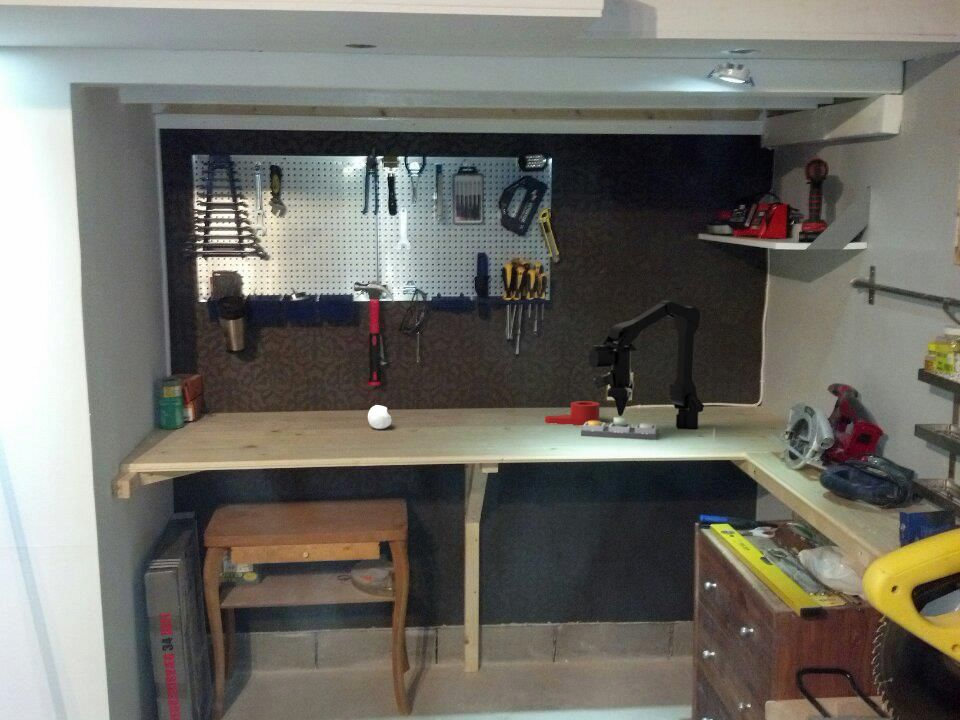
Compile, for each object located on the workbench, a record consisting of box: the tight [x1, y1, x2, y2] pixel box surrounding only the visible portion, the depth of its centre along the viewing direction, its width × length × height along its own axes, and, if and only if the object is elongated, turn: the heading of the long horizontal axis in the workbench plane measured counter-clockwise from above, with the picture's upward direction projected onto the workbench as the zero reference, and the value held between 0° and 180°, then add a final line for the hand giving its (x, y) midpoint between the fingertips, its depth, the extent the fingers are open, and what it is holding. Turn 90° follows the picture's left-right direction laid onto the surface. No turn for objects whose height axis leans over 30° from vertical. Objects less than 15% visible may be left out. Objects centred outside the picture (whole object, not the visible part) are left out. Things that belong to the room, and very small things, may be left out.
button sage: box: [613, 416, 628, 426], centre depth 291 cm, size 4×4×2 cm
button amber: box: [588, 420, 601, 426], centre depth 293 cm, size 4×4×2 cm
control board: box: [580, 421, 659, 441], centre depth 291 cm, size 23×9×3 cm, turn 75°
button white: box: [638, 422, 654, 428], centre depth 289 cm, size 4×4×2 cm
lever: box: [544, 400, 600, 426], centre depth 310 cm, size 18×9×7 cm, turn 90°
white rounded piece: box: [367, 404, 392, 430], centre depth 300 cm, size 8×8×8 cm
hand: (620, 415), depth 291 cm, fingers closed
